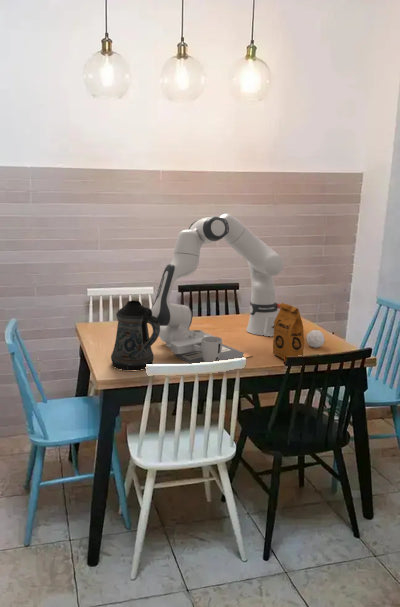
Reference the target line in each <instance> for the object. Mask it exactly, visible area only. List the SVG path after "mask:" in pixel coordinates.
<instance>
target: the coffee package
mask: <svg viewBox="0 0 400 607" xmlns="http://www.w3.org/2000/svg"><path fill="white" fill-rule="evenodd" d="M279 304H280V307H281V309H279V310H278V311H279V313H278V315H277V317H276V319H275V321H274V336H273V340H272V354H273V355H275V356H277V357H279V358H280V357H281V358H280V359H282V360H284V357H285V356H298V355H303V356H304V346H305V332H304V325H303V321H302V317H301V314H300V310H299V308H298V307H296V306H294V305H291V304H287V303H285V302H281V303H279Z"/></svg>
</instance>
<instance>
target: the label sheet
mask: <svg viewBox="0 0 400 607" xmlns="http://www.w3.org/2000/svg"><path fill="white" fill-rule="evenodd" d="M244 353H245V352H243V351H241V350H238V349H235V348H233V347H231V346H228V345H226V344H223V343H222V350H221V355H220V359H219V360H228V359H234V358H242V357H244V356H243V354H244ZM172 356H174V357H175V358H178V359H180V360H182V361H184V362H186V363H188V364H190V363H200V362H204V359H203V353H202V352H201V351H192V352H188V353H183V354H176V353H174V354H172Z"/></svg>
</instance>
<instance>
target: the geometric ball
mask: <svg viewBox="0 0 400 607" xmlns="http://www.w3.org/2000/svg"><path fill="white" fill-rule="evenodd" d="M325 340H326V338H325V335H324V333H323V332H322V331H321V330H318V329H312V330H311V331H309V332H308V333H307V335H306V342H307V345H309V346H310V347H311V348H312V347H314V348H315V349H317V348H320V347H322V346H323V345H324V343H325ZM314 348H313V349H314Z"/></svg>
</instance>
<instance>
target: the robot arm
mask: <svg viewBox="0 0 400 607" xmlns="http://www.w3.org/2000/svg"><path fill="white" fill-rule="evenodd" d="M221 239H222V240H224V241H225V242H226V243H227V244H228V245H229V246H230V247H231V248H232V249H233V251H236V253H237V254H238V255H240V257H242V258H244V259H245V260H246V262H247V265H248V269H249V270H248V271H249V275H250V284H251V285H250V286H251V292H250V293H251V295H250V296H251V297H250V298H251V299H250V302H249V319H248V323H247V327H246V332H248V333H249V334H252V335H256V336H263V335H264V337H268V336H270V337H274V321H275V319H276V317H277V315H278V313H279V311H280V309H281V307H280V304H281V303H277V302H276V301H275V300H276V284H275V282H274V281H275V280H274V277H275V276H278V275H280V274H281V273H282V271H283V269H284V266H285V260H284V259H283V257H282V256H281V255H279V254H278V253H277V252H276V251H275V250H274V249H272V248H271V247H270V246H269V245H268V244H266V243H265V242H264V241H262V240H261V239H260V238H259V237H257V236H256V235H255V234H254V233H253V232H252V231H251V230H250V229H249V228H248V227H247V226H246V225H245V224H244V223H243V222H242V221H241V220H239V219H238V218H236V217H235V216H234V215H232V214H230V213H223V214H221V215H220V216H215V215H213V216H209V217H208V216H207V217H203V218H201V219H198V220H196V221H195V220H194V222H192V223H191V224H190V226H189V227H188V229H187V228H186V229H183V230H181V231H180V232H179V233H178V234H177V238H176V242H175V244H174V251H173V256H172V260H171V262H170V263H169V264H166V266H165V268H164V270H163V273H162V275H161V276H162V277H161V280H160V283H159V285H158V290H157V293H156V296H155V300H154V302H153V304H152V306H151V308H150V309H151V311H152V316H154V317H156V318H157V320H158V322H159V324H160V333H159V336H158V338H159V339H160V340H161V341H162V342H163V343H165V344H166V347H167V348H168V349H170V351H171V352H173V353H174V354H183V353H188V352H192V351H201V352H202V341H201V339H202V338H203V337H208V336H214V337H216V336H215V335H213V334H210V333H208V332H204V330H201V329H198V330H197V329H196V330H194V329H193V330H191V329H190V327H191V325H192V322H193V312H192V310H191V308H190V307H189V306H188V305H184V304H179V303H171V302H170V298H171V293H172V289H173V286H174V284H175V282H176V281H177V280H179V279H181V278H185V277H188V276H191V275H193V274H194V273H195V272H196V271H197V269H198V266H199V263H200V254H201V248H202V246H203V245H204V244H211V243H214V242H218V241H220V240H221Z"/></svg>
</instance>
